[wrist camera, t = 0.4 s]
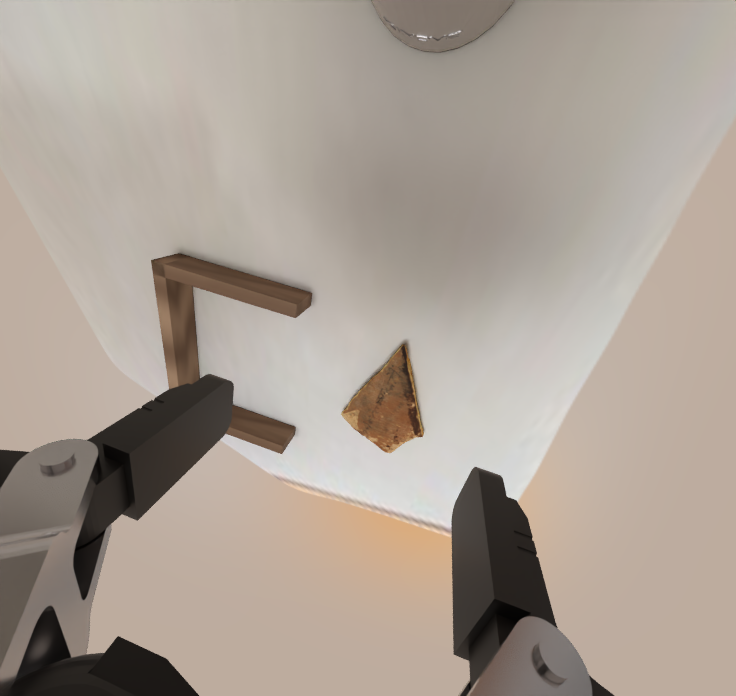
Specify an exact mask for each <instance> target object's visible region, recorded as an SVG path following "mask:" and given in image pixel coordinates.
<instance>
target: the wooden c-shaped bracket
mask: <svg viewBox="0 0 736 696" xmlns="http://www.w3.org/2000/svg"><path fill="white" fill-rule="evenodd" d="M151 263H152V270H153V277H154V284H155V291H156V298H157V305H158V312H159V319H160V327H161V334H162V341H163V348H164V355H165V362H166V369H167V376H168V383H169V389H171V388H175V387H178V386H181V385H184V384H187V383H189V384H193V383H195V382H196V381H198V380H199V379H200V378H199V365H198V352H197V340H196V327H195V314H194V301H193V288H192V286H193V287H197V288H200V289H203V290H206V291H210V292H213V293H216V294H219V295H223V296H226V297H229V298H232V299H235V300H239V301H242V302H245V303H248V304H252V305H255V306H258V307H261V308H265V309H268V310H271V311H274V312H277V313H281V314H284V315H287V316H290V317H294V318H296V317H298V316H299V315H300V314H301V313H302V312H304V311H305V310H306V309H307V308H308V307H310V306H311V298H312V293H310V292H307V291H303V290H300V289H297V288H293V287H290V286H286V285H283V284H280V283H276V282H273V281H270V280H266V279H263V278H260V277H256V276H253V275H250V274H246V273H243V272H239V271H236V270H233V269H229V268H226V267H223V266H219V265H216V264H213V263H209V262H206V261H202V260H199V259H196V258H192V257H189V256H186V255H182V254H179V253H178V254H174V255H170V256H166V257H162V258H158V259H154V260H151ZM226 434H228V435H231V436H234V437H237V438H239V439H242V440H245V441H248V442H250V443H253V444H256V445H258V446H261V447H264V448H267V449H269V450H272V451H275V452H278V453H280V454H282V453H283V452H284V450H285V449H286V447H287V446H288V444H289V443H290V441H291V439H292V438H293V436H294V435H295V427H294V426H291V425H288V424H285V423H282V422H279V421H277V420H274V419H271V418H268V417H265V416H262V415H260V414H257V413H254V412H251V411H248V410H245V409H242V408H240V407H237V406H234V405H233V406H232V420H231V424H230V426H229V428H228V430H227V432H226Z"/></svg>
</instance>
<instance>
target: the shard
mask: <svg viewBox="0 0 736 696" xmlns="http://www.w3.org/2000/svg"><path fill="white" fill-rule="evenodd" d="M341 415H342V416H343V417H344V419H345V420H346V421H347V422H348V423H349V424H350V425H351V426H352V427H353V428H354V429H355V430H357V431H358V432H359V433H360V434H361V435H363V436H365V437H366V438H367V439H369V440H370V441H371V442H373V443H374V444H376V445H377V446H378V447H379V448H380V449H382V450H383V451H384V452H387V453H391V452H393V451H394V450H395V449H396V448H398V447H399V446H401V445H402V444H403V443H405V442H407V441H409V440H411V439H413V438H415V437H423V434H424V432H423V428H422V425H421V422H420V414H419V410H418V407H417V401H416V393H415V388H414V382H413V376H412V367H411V364H410V360H409V358H408V355H407V350H406V346H405V345H403V344H402V346H401V347H400V348H399V349H398V350H397V352H396V353H395V354H394V355H393V356H392V357H391V359H390V360H389V362H388V363H387V364H386V365H385V366H384V367H383V369H382V370H381V371H380V372H379V373H378V374H377V375H375V376H374V377H372V378H371V380H370V381H369V382H368V383H367V384H366V385H365V386H364V387H363V388H362V389H361V390H360V391H359V392H358V394H357V395H356V396H354V397H353V398H352V399H351V401H350V402H349V405H348V406H347V407H346V409H345V410H343V411H342V413H341Z"/></svg>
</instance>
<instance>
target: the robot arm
mask: <svg viewBox="0 0 736 696" xmlns="http://www.w3.org/2000/svg"><path fill="white" fill-rule="evenodd" d="M371 1H372V3H373V5H374V7H375V9H376V11H377V13H378V15H379V16H380V18H381V20H382V22H383V23H384V24H385V26H386V27H387V28H388V29H389V30H390V31H391V33H392V34H393V35H394V36H395V37H397V38H398V39H399V40H401V41H402V42H404V43H405V44H406V45H408V46H411V47H413V48H416V49H419V50H422V51H434V52H442V51H446V50H451V49H455V48H459V47H461V46H463V45H465V44H467V43H469V42H471V41H473V40H475V39H476V38H478V37H479V36H480V35H482V34H483V33H484V32H485V31H487V30H488V29H489V28H491V27H492V26H493V25H494V24H495V23H496V22H497V21H498V19H499V18H500V17H501V16H502V15H503V14H504V13H505V12H506V11H507V10H508V8H509V7H510V6H511V4H512V3H513V1H514V0H371ZM233 390H234V386H233V383H232V382H231V381H229V380H226V379H223V378H220V377H217V376H214V375H212V374H208V375H205V376H204V377H202V378H201V379H199V380H198V381H196V382H195V383H193V384H189V383H187V384H184V385H181V386H178V387H175V388H171V389H169V390H167V391H166V392H164V393H162V394H161V395H159V396H158V397H156V398H155V399H154V401H153V400H151V401H150V402H148V403H146V404H145V405H143V406H142V408H141V409H140V408H138V409H137V410H135V411H133V412H132V413H130V414H129V415H127V416H125V417H124V418H122V419H121V420H119V421H117V422H116V423H114V424H113V425H111V426H109V427H108V428H106V429H105V430H103V431H101V432H100V433H98V434H97V435H95V436H93V437H92V438H90V439H88V440H81V439H67V440H60V441H56V442H52V443H49V444H46V445H43V446H41V447H39V448H37V449H34V450H33V451H31V452H23V451H9V450H0V696H199V695H198V694H197V693H196V692H195V690H194V689H193V688H192V687H191V686H190V685H189V684H188V682H186V680H185V679H184V678H183V677H182V676H181V675H180V673H179V672H178V671H177V670H176V669H175V668H174V667H173V666H172V664H171V663H170V662H169V661H168V660H167V659H166V658H164V657H161V656H159V655H157V654H155V653H153V652H151V651H148V650H147V649H144V648H142V647H140V646H138V645H136V644H134V643H132V642H129V641H127V640H125V639H123V638H121V637H119V636H118V637H117V638H116V639H115V640H114V642H113V643H112V644H111V646H110V647H109V648H108V649H107V651H106V652H105V653H98V654H88V655H86V653H87V648H88V641H89V631H90V613H91V607H92V602H93V598H94V595H95V590H96V587H97V583H98V579H99V575H100V572H101V568H102V564H103V560H104V556H105V552H106V549H107V545H108V541H109V537H110V533H111V523H113V522H114V521H115V520H116V519H117V518H118V517H119V516H120V515H121V514H123V515H126V516H128V517H130V518H133V519H135V520H139V519H140V518H141V517H142V516H143V515H144V514H145V513H146V512H147V511H148V510H149V509H150V508H151V507H152V506H153V505H154V504H155V503H156V502H157V501H158V500H159V499H160V498H161V497H162V496H163V495H164V494H165V493H166V492H167V491H168V490H169V489H170V488H171V487H172V486H173V485H174V484H175V483H176V482H177V481H178V480H179V479H180V478H181V477H182V476H183V475H184V474H185V473H186V472H187V471H188V470H189V469H191V468H192V467H193V465H194V464H196V463H197V462H198V461H199V460H200V459H201V458H202V457H203V456H204V455H205V454H206V453H207V452H208V451H209V450H210V449H211V448H212V447H213V446H214V445H215V444H216V443H217V442H218V441H219V440H220V439H221V438H222V437H223V436H224V435H225V433H226V432H227V430H228V428H229V426H230V424H231V420H232V406H233ZM536 554H537V552H536V548H535V544H534V541H532V533H531V530H530V526H529V522H528V518H527V517H526V515H525V514H524V512H523V510H522V509H521V508H520V506H519V504H518V503H517V501H516V500H514V499H511V498H508V497H507V496H506V491H505V487H504V482H503V478H502V477H501V476H500V475H498V474H495V473H492V472H489V471H486V470H483V469H480V468H477V467H474V468H473V469H472V471H471V473H470V475H469V477H468V479H467V481H466V483H465V484H464V486H463V488H462V490H461V492H460V494H459V496H458V498H457V500H456V502H455V505H454V509H453V514H452V578H453V635H454V636H453V639H454V655H457V656H459V657H461V658H464V659H466V660H469V662H470V680H469V681H468V683H467V684H466V685H465V687H464V688H463V690H462V691H461V693H460V694H459V695H458V696H614V695H613V694H611V693H610V692H609V691H608V690H606V689H605V688H604V687H602V686H601V685H600V684H598V683H597V682H596V681H595V680H594V679H592V678H591V677H590V676H589V674H588V672H587V669H586V667H585V665H584V663H583V661H582V659H581V657H580V655H579V654H578V652H577V650H576V649H575V648H574V646H573V645H572V643H571V642H570V641H569V640H568V639H567V638H566V636H565V635H563V633H561V631H559V630H558V629H557V626H556V623H555V619H554V615H553V611H552V608H551V604H550V601H549V597H548V593H547V589H546V586H545V582H544V578H543V574H542V570H541V567H540V563H539V559H538V557H536Z"/></svg>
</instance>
